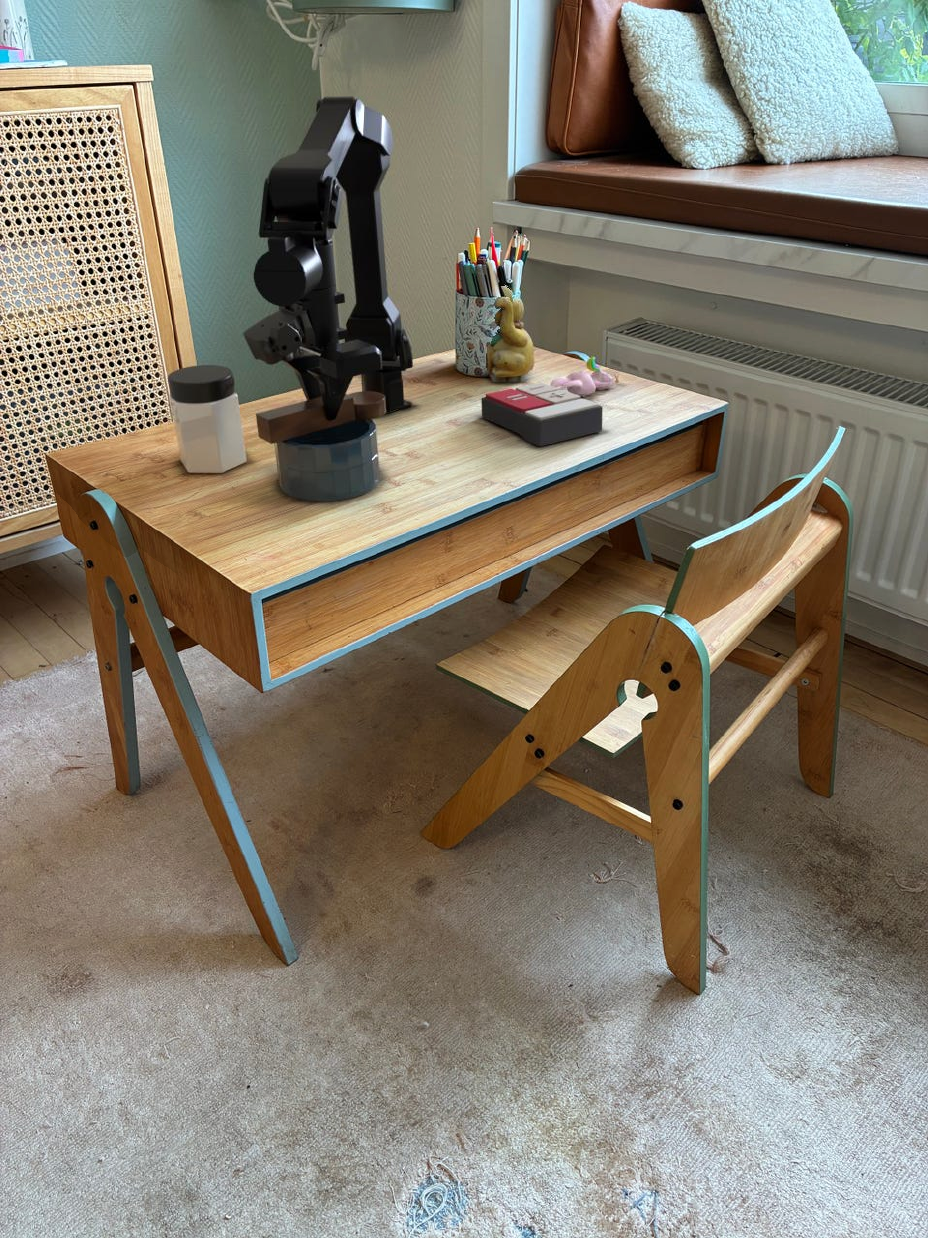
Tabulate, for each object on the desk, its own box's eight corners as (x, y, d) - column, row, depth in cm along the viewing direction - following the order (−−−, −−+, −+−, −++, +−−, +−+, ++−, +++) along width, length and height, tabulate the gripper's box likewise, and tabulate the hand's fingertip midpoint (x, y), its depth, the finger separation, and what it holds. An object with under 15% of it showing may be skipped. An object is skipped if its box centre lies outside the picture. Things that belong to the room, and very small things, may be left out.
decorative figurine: (477, 370, 164) (476, 277, 156) (525, 366, 166) (526, 273, 158) (492, 387, 156) (492, 290, 148) (542, 383, 158) (544, 286, 150)
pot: (261, 479, 126) (254, 427, 122) (343, 455, 132) (339, 404, 129) (314, 510, 117) (308, 455, 114) (399, 482, 124) (396, 429, 120)
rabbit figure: (593, 388, 159) (536, 396, 148) (598, 350, 157) (541, 356, 146) (625, 396, 155) (569, 405, 145) (631, 357, 153) (575, 364, 142)
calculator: (541, 379, 147) (604, 400, 136) (542, 407, 149) (603, 431, 138) (479, 392, 142) (538, 415, 131) (480, 421, 145) (539, 447, 133)
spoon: (276, 446, 115) (273, 422, 113) (254, 435, 118) (250, 411, 117) (394, 413, 124) (392, 389, 122) (370, 403, 127) (368, 380, 126)
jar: (253, 467, 129) (240, 378, 123) (191, 479, 126) (175, 388, 120) (235, 446, 136) (223, 360, 130) (176, 456, 133) (160, 369, 127)
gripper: (209, 283, 114) (228, 412, 122) (293, 311, 102) (308, 453, 110) (291, 268, 120) (305, 393, 128) (380, 294, 108) (389, 430, 116)
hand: (324, 416), depth 120 cm, fingers closed on spoon, 3 cm apart
